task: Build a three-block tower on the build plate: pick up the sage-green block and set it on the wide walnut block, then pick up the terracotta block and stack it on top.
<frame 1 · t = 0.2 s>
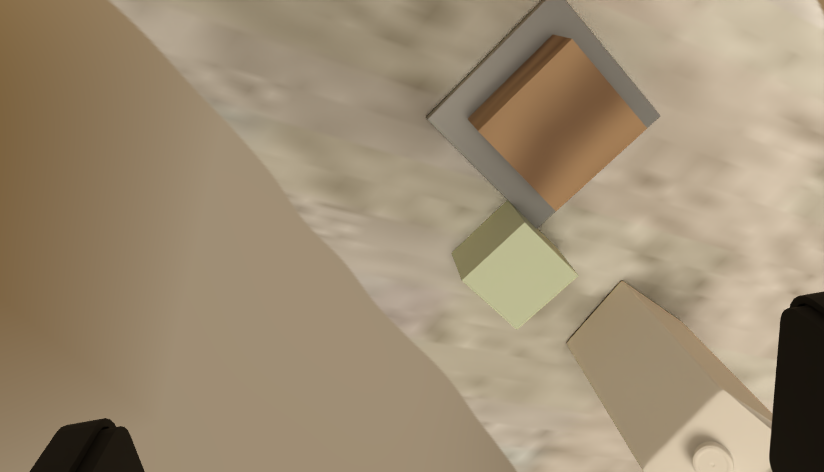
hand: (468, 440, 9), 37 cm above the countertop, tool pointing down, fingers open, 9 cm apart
sage brick: (504, 250, 49), on the countertop
build plate: (542, 115, 45), on the countertop
walnut brick: (545, 117, 44), point 1 cm above the countertop, touching build plate
milk carton: (622, 330, 53), on the countertop
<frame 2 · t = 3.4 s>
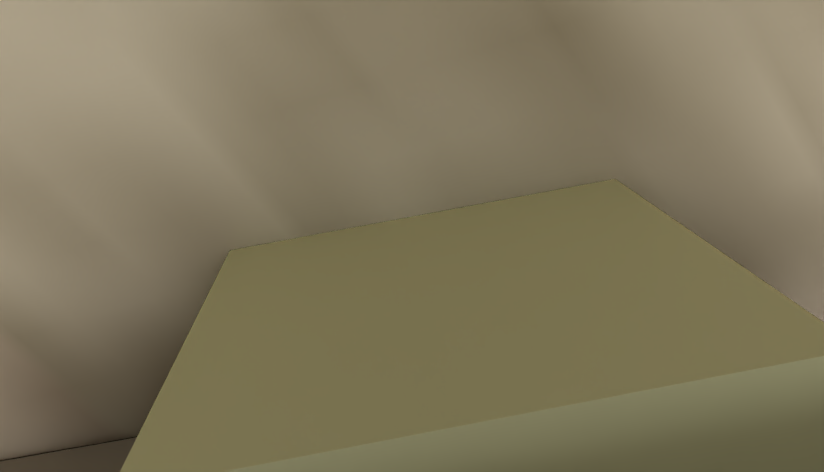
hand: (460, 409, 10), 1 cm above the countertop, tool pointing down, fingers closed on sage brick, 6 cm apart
sage brick: (451, 377, 11), on the countertop, touching gripper
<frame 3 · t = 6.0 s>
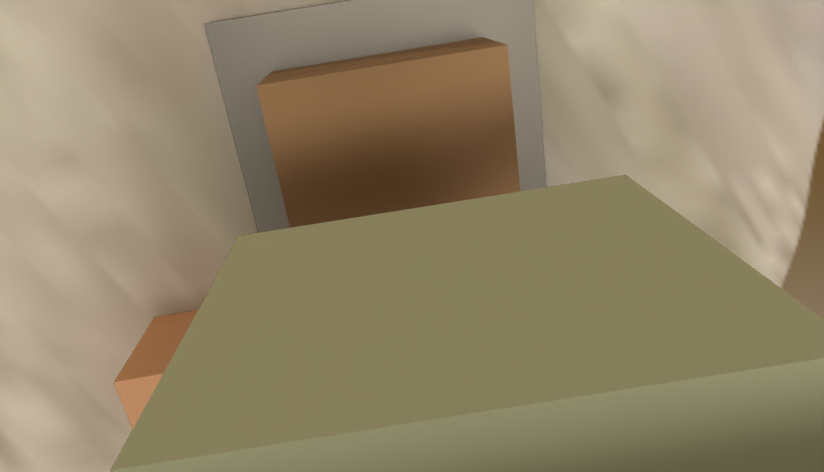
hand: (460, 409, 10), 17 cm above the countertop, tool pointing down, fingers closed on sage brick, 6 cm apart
sage brick: (455, 369, 11), point 16 cm above the countertop, touching gripper
terracotta brick: (226, 354, 28), on the countertop
build plate: (393, 152, 25), on the countertop
walnut brick: (394, 157, 25), point 1 cm above the countertop, touching build plate
when the fingers open (7 cm above the countertop, at t = 8.3 s): sage brick stays where it is, resting on walnut brick.
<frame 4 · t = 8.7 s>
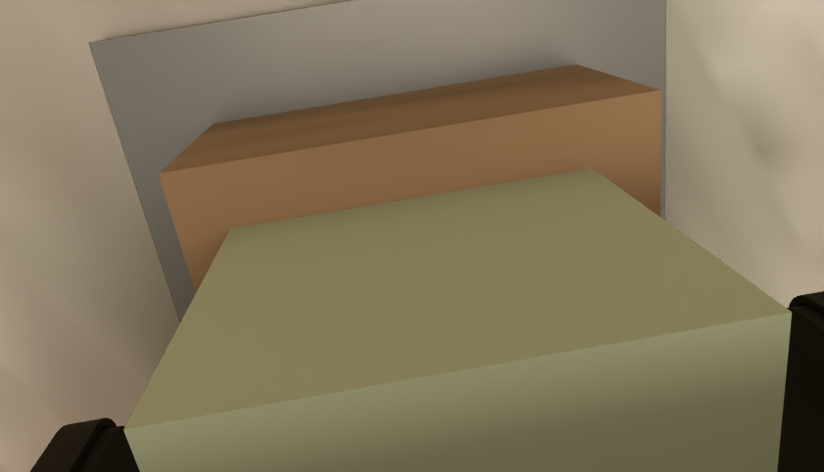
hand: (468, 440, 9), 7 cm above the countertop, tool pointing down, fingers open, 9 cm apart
sage brick: (436, 354, 11), point 5 cm above the countertop, touching walnut brick
build plate: (418, 247, 16), on the countertop
walnut brick: (422, 260, 15), point 1 cm above the countertop, touching build plate, sage brick
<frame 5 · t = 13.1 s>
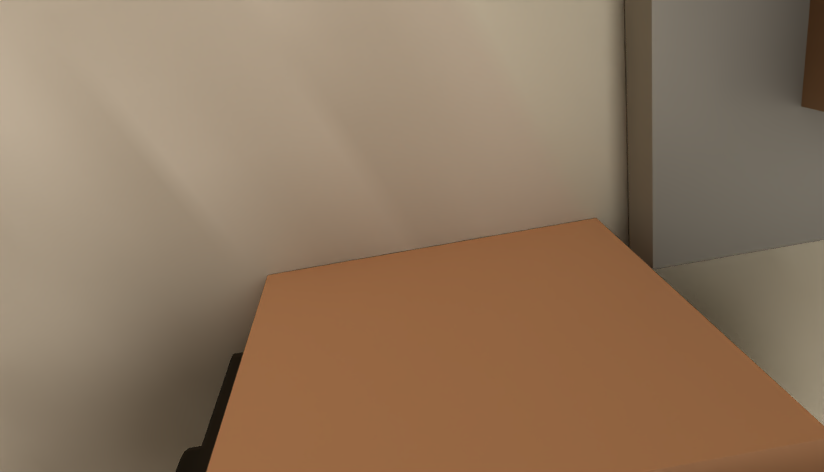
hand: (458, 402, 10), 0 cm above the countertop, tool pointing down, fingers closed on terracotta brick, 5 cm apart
terracotta brick: (453, 384, 10), on the countertop, touching gripper
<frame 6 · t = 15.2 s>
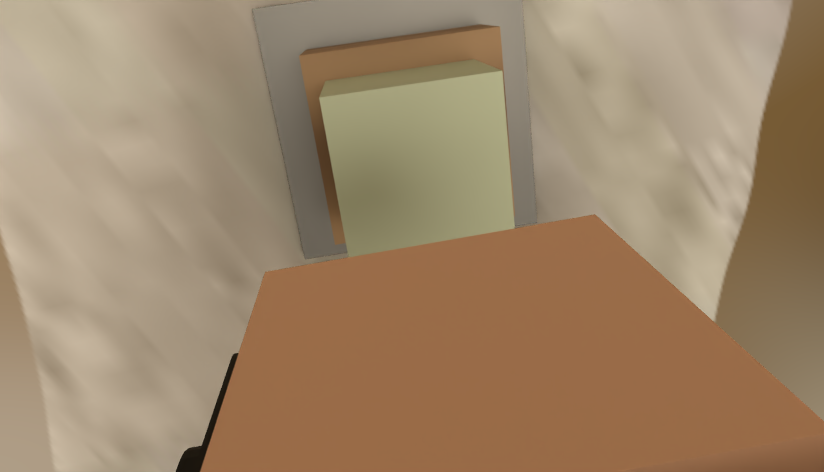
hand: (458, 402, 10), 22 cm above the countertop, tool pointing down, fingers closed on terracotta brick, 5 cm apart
sage brick: (410, 143, 26), point 5 cm above the countertop, touching walnut brick
terracotta brick: (452, 382, 10), point 22 cm above the countertop, touching gripper
build plate: (404, 121, 30), on the countertop
walnut brick: (405, 124, 29), point 1 cm above the countertop, touching build plate, sage brick
when the fingers open (11 cm above the countertop, at t = 17.6 s): terracotta brick drops 1 cm, resting on sage brick.
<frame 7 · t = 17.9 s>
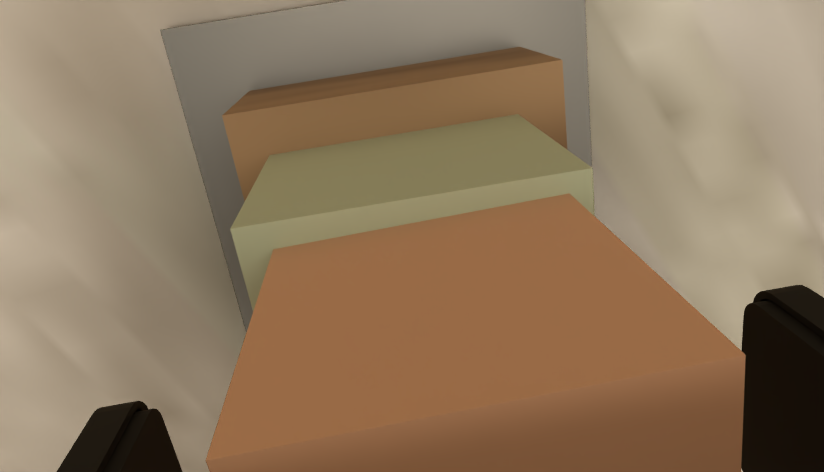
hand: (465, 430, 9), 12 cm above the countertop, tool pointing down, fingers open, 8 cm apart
sage brick: (412, 249, 16), point 5 cm above the countertop, touching terracotta brick, walnut brick
terracotta brick: (444, 348, 11), point 10 cm above the countertop, touching sage brick
build plate: (404, 190, 20), on the countertop
walnut brick: (406, 197, 20), point 1 cm above the countertop, touching build plate, sage brick
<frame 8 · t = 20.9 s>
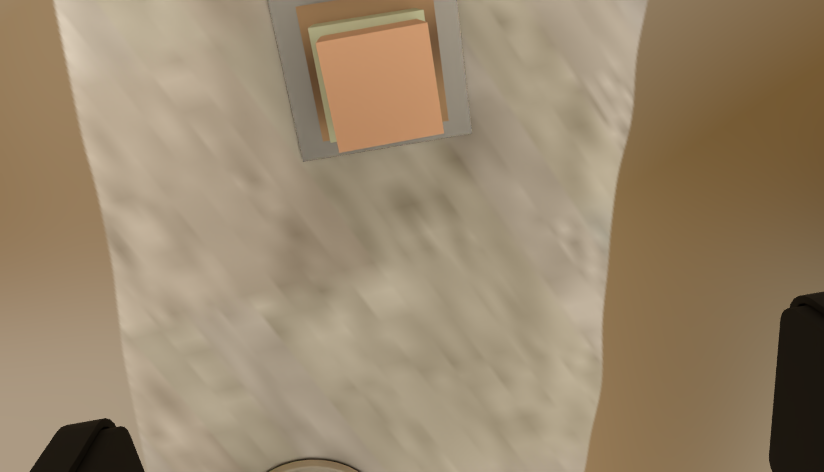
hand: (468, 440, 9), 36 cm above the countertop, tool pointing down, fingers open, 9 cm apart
sage brick: (373, 68, 37), point 5 cm above the countertop, touching terracotta brick, walnut brick
terracotta brick: (378, 76, 33), point 10 cm above the countertop, touching sage brick
build plate: (373, 58, 42), on the countertop
walnut brick: (373, 59, 41), point 1 cm above the countertop, touching build plate, sage brick
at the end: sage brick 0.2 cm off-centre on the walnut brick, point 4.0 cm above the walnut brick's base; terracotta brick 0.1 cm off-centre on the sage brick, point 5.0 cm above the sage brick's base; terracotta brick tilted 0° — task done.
